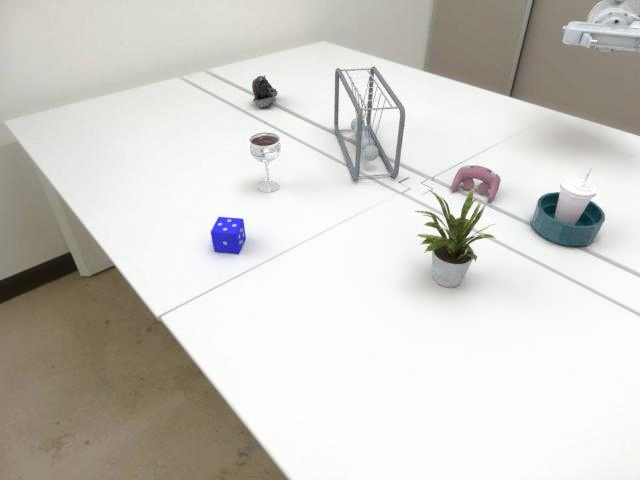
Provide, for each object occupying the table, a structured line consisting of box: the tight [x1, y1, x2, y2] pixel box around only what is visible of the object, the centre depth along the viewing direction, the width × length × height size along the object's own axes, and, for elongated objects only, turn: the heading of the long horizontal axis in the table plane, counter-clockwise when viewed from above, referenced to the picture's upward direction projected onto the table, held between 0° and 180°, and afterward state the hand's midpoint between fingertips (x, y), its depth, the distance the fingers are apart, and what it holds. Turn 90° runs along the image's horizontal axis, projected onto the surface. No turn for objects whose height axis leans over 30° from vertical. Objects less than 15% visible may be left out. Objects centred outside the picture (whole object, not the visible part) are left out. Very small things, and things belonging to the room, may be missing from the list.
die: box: [210, 216, 247, 255], centre depth 88 cm, size 5×5×5 cm
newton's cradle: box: [333, 65, 406, 181], centre depth 113 cm, size 30×10×18 cm, turn 8°
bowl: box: [530, 191, 606, 247], centre depth 92 cm, size 12×12×5 cm
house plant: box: [414, 186, 497, 289], centre depth 78 cm, size 14×14×16 cm
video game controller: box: [450, 164, 502, 203], centre depth 102 cm, size 10×5×7 cm, turn 59°
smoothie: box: [554, 165, 598, 226], centre depth 88 cm, size 6×6×14 cm
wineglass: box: [248, 131, 282, 193], centre depth 102 cm, size 7×7×12 cm
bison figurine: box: [251, 75, 278, 108], centre depth 141 cm, size 12×7×10 cm, turn 178°
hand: (616, 47), depth 95 cm, fingers open, 8 cm apart
